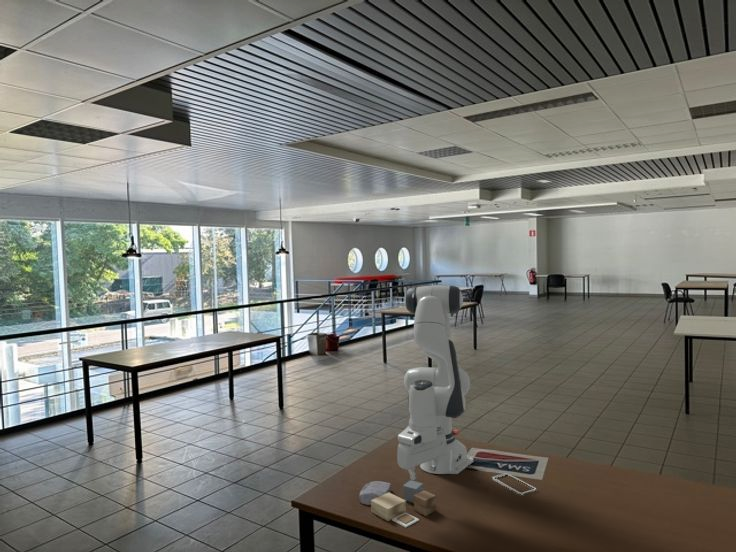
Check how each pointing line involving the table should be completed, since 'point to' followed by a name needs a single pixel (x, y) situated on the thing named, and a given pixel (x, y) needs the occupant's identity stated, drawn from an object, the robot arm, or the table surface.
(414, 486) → the slate cube
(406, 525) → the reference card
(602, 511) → the table surface
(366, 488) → the stone block
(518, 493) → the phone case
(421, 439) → the robot arm
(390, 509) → the oak base block
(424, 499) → the walnut cube
